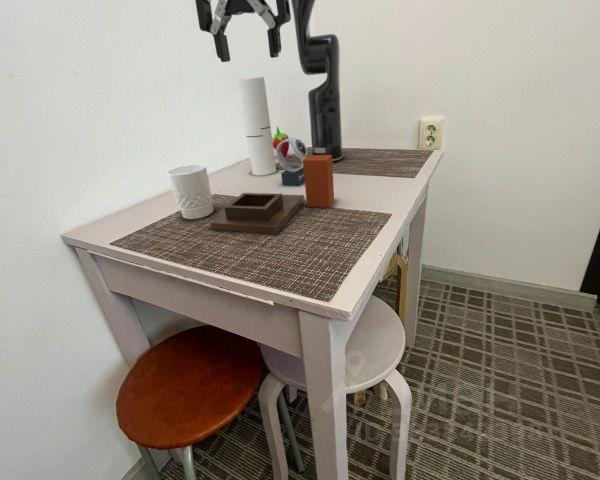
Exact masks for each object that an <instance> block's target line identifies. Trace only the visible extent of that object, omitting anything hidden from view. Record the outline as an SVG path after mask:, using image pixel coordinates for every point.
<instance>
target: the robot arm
mask: <svg viewBox="0 0 600 480" xmlns="http://www.w3.org/2000/svg"><path fill="white" fill-rule="evenodd" d="M211 1H212V0H195V7H196V8H195V9H196V14H197V20H198V28H199V30H200V31H202V32H206V33H209V34H211V35H212V37H213V42H214V47H215V53H216V56H217V58H218V59H219V60H220V62H221V63H227V62H230V61H231V55H230V48H229V43H228V37H227V34H225V32H226V30H227V26H228V24H229V22H230V21H231V20H232V17H233V16H241V15H243V14H257V15H258V16H259V17H261V19H262V20H263V22H264V23H265V24H266V26H267V27H268V29H267V30H266V32H267V40H268V50H269V57H270V58H271V59H274V58H279V56H280V54H279V53H282V39H281V38H282V37H281V28H282V26H283V25H285V24H286V23H289V22H290V21H291V20H292V17H293V21H294V30H295V38H296V47H297V54H298V55H297V56H298V61H299V65H300V68H301V71H302V73H303V74H304V75H306V76H317V75H326V78H325V79H324V80H323V82H322V83H320V85H318V86H316V87H314V88H311V89H310V90H309V91H308V92H307V101H308V102H307V103H308V114H309V128H310V139H311V153H312V155H332V163H334V162H339V161H341V160H342V159H344V158H343V157H344V155H343V138H342V136H343V135H342V112H341V111H342V110H341V108H342V107H341V81H340V80H341V77H340V73H341V71H340V68H341V66H340V65H341V47H340V41H339V38H338V36H337V35H336V34H334V33H329V34H328V33H327V34H322V35H313V36H311V29H310V27H311V25H310V24H311V17H312V13H313V10H314V6H315V3H316V0H275V4H276V11H277V15H275V13H274V12H273V10H272V7H270V5H269V4H268V2H267V1H266V0H217V4H216V8H215V11H214V12H213V11H212V3H211ZM290 4H291V7H290ZM291 9H292V14H291ZM292 15H293V16H292ZM213 16H214V17H213Z"/></svg>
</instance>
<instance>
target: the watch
mask: <svg viewBox="0 0 600 480" xmlns="http://www.w3.org/2000/svg"><path fill="white" fill-rule="evenodd" d="M287 141H288V142H289V145H290V146H291V149H292V152H293V153H294V155H295V156H296V157H297V158H299V160H300V162H301V165H300V167H299V166H298V167H297V166H290V165H289V163H288V162H287V160H286V159H285V156H283V155H282V153H281V151H280V150H281V145H282V144H283V143H284V142H287ZM275 153H276V154H275V157H276V159H277V162H278V163H279V165H280V166H281V168H282V169H283V170H284V171H283V172H281V174H280V175H281V181H282V183H281V184H282V186H291V187H299V186H300V185H301V184H303V183H304V182H305V178H304V168H303V160H304V159H305V158H306V157H308V156H309V151H308V149H307V146H306V145H305V143H303V141H301V139H297V138H294V137H288V139H286V140H284V141H282V142H281V143H279V145H278V146H277V149H276V150H275Z"/></svg>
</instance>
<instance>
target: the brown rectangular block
mask: <svg viewBox="0 0 600 480" xmlns="http://www.w3.org/2000/svg"><path fill="white" fill-rule="evenodd" d="M302 163H303V168H304V178H305V180H304V188H305V199H306V207H307V208H326V209H327V208H328V209H330V208H331V206H332V205H333V203H334V202H335V190H334V189H335V187H334V169H333V162H332V155H311V154H310V155H309V154H308V157H306V158H305V159H304V160H303V162H302Z"/></svg>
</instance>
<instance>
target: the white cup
mask: <svg viewBox="0 0 600 480" xmlns="http://www.w3.org/2000/svg"><path fill="white" fill-rule="evenodd" d="M166 174H167V177H168V180H169V183H170V186H171V189H172V192H173V195H174V197H175V199H176V202H177V205H178V207H179V209H180V212H181V215H182V218H184V219H186V220H197V219H203V218H205V217H208V216H210V215H211V214H212V213H213V212H214V206H213V200H212V191H211V185H210V181H209V175H208V170H207V165H206V164H203V163H191V164H184V165H180V166H176V167H173V168H171V169H169V170H167V172H166Z"/></svg>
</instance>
